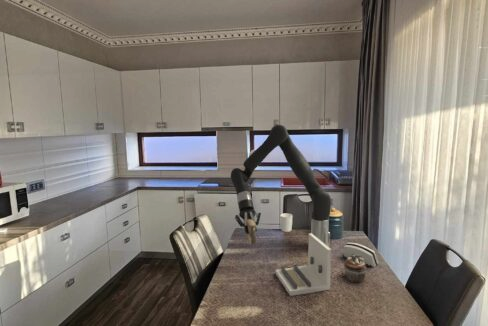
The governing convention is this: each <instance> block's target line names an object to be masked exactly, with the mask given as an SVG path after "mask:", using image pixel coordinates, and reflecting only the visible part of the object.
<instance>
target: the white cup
mask: <svg viewBox="0 0 488 326" xmlns="http://www.w3.org/2000/svg"><path fill="white" fill-rule="evenodd" d="M279 218H280V230H281V231H282V232H284V233H285V232H286V233H288V232H289V233H290V232H291V231H292V227H293V214H292V213H287V212H286V213H281V214H280V216H279Z"/></svg>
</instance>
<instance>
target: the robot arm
mask: <svg viewBox="0 0 488 326" xmlns="http://www.w3.org/2000/svg"><path fill="white" fill-rule="evenodd" d="M278 147H279V149H280V150H281V151H282V153H283V155H284V158H285V160H286V162H287V164H288V165H289V168H290V169H291V171H292V172H293V174H294V175H295V177H296V178H297V179H298V180H299V182H301V183H302V185H303V187H304V188H305V189H306V192H307V193H308V196H309V198H310V200H311V202H312V203H313V208H312V212H311V226H310V227H311V231H310V233H312V234H313V235H314V236H315V237H317V238H318V239H319V240H320V241H322V242H323V243H324V244H325V245H326V246H328V247H329V248H330V249H331V247H330V246H331V245H330V244H331V242H330V241H331V239H330V232H329V215H330V209H331V208H332V207H331V205H332V204H331V203H332V201H331V200H332V199H331V195H330V194H329V193H328V192H327V191H326V190H325V189H324V188H323V187H322V186H321V185H320V183H319V181H318V180H317V179H316V177H315V174H314V172H313V169H312V168H311V165H310V164H309V162H308V160H307V159H306V158H305V157H304V155H303V153H302V152H301V151H300V150H299V148H298V147H297V146H296V145H295V144H294V142H293V141H292V138H291V136H290V134H289V133H288V128H286V127H285V126H284V125H283V124H276V125H274V126H272V127H271V129H270V132H269V135H268V136H267V138H266V139H265V140H264V141H263V142H262V144H261V145H260V146H259V147H258V148H256V149H255V150H254V151H253V152H252V153H251V154H250V155H249V156H248V157H247V158H246V159H245V161H244V162H243V167H244V169H241V168H239V167H236V168H233V169H232V170H231V172H230V179H231V182H232V184H233V186H234V188H235V192H236V200H237V206H238V210H239V214H235V217H234V219H235V221H236V222H237V224H238V225H239V227H241V228H244V232H245V234H246V233H247V234H249V231H248V226H247V219H252V220H253V221H254V223H255V224H256V226H258V225H259V223H260V220H261V215H262V214H261V212H256V211H255V208H254V203H253V199H252V195H251V192H250V191H251V190H250V187H249V185H248V181H250V178H251V176H252V174H253V173H254V171H255V170H256V168H257V167H259V165H261V163H263V162H264V160H265V159H266V158H267V157H268V156H269V154H271V153H272V152H273V151H274V150H275V149H276V148H278ZM255 218H256V220H255ZM241 219H242V220H243V221H242V220H241ZM257 231H258V229H257V228H256V232H257Z"/></svg>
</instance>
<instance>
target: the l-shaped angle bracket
mask: <svg viewBox="0 0 488 326" xmlns="http://www.w3.org/2000/svg"><path fill="white" fill-rule="evenodd" d="M307 244H308V249H307V251H308V253H307V254H308V255H307V260H308V261H307V265H300V266H297V265H295V264H294V265H293V267H289V268H288V267H286V268H285V267H284V266H281V267H280V268H279V269H275V275H276V277H277V279H278V280H279V282H280V283H281V284H282V285H283V287H284V288H285V291H286V292H287V294H289V297H292V296H299V295H305V294H310V293H311V294H312V293H316V292H323V291H324V292H325V291H329V290H331V271H332V269H331V268H332V249H331V247H330V248H329V247H328V246H326V245H325V244H324V243H323V242H322V241H320V240H319V239H318V238H317V237H315V236H314V235H313V234H312V233H311V232H310V233H308V243H307Z"/></svg>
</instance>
